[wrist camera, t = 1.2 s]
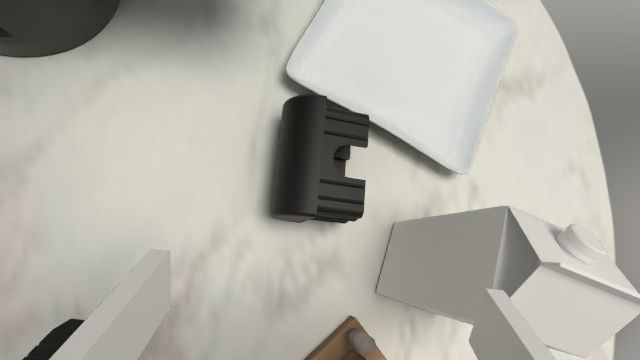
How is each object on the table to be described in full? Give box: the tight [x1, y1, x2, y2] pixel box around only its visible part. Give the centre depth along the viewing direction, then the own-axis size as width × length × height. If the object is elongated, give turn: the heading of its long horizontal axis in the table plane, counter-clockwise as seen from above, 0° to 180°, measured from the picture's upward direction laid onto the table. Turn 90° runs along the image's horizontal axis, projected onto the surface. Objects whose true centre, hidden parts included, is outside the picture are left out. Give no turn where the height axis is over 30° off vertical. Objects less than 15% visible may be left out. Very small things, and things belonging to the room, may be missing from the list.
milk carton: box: [376, 206, 640, 358], centre depth 26 cm, size 7×7×19 cm
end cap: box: [270, 94, 369, 223], centre depth 31 cm, size 10×7×7 cm
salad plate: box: [286, 0, 517, 175], centre depth 38 cm, size 21×21×3 cm
